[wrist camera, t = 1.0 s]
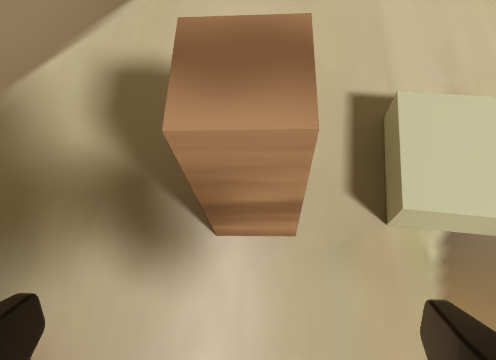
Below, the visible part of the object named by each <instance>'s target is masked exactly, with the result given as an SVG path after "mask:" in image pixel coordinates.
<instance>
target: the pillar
mask: <svg viewBox="0 0 496 360" xmlns="http://www.w3.org/2000/svg"><path fill="white" fill-rule="evenodd" d="M162 132H163V134H164V136H165V138H166V140H167V142H168V144H169V146H170V147H171V149H172V151H173V153H174V155H175V157H176V159H177V161H178V163H179V165H180V167H181V169H182V171H183V172H184V174H185V176H186V178H187V180H188V182H189V184H190V186H191V188H192V190H193V192H194V194H195V196H196V198H197V199H198V201H199V203H200V205H201V207H202V209H203V211H204V213H205V215H206V217H207V219H208V221H209V223H210V224H211V226H212V228H213V230H214V232H215V234H216V236H295V235H296V231H297V226H298V222H299V217H300V213H301V208H302V204H303V199H304V195H305V190H306V186H307V181H308V177H309V172H310V168H311V163H312V159H313V154H314V150H315V145H316V141H317V136H318V132H319V120H318V105H317V90H316V75H315V60H314V45H313V30H312V16H311V13H302V14H271V15H241V16H210V17H179V18H178V20H177V27H176V34H175V41H174V48H173V55H172V63H171V70H170V77H169V84H168V91H167V98H166V105H165V112H164V119H163V126H162Z"/></svg>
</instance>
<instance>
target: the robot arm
mask: <svg viewBox="0 0 496 360" xmlns="http://www.w3.org/2000/svg"><path fill="white" fill-rule="evenodd" d="M44 328H45V319H44V315H43V312H42V308H41V304H40V301H39V298H38V296H37V295H36V294H33V293H18V294H15V295H13V296H11V297H9V298H7V299H5V300H3V301H1V302H0V360H30V358H31V356H32V354H33V352H34V350H35V348H36V346H37V344H38V342H39V340H40V338H41V336H42V334H43V331H44ZM420 335H421V340H422V343H423V346H424V349H425V353H426V356H427V359H428V360H496V332H495V331H494V330H492V329H491V328H489V327H487V326H486V325H484V324H483V323H481V322H480V321H478V320H477V319H475V318H474V317H472V316H471V315H469V314H467V313H466V312H464V311H463V310H461V309H459V308H458V307H457V306H455V305H454V304H452V303H451V302H449V301H447V300H434V299H430V300H427V301H426V302H425V305H424V310H423V316H422V322H421V327H420Z"/></svg>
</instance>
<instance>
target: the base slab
mask: <svg viewBox="0 0 496 360" xmlns="http://www.w3.org/2000/svg"><path fill="white" fill-rule="evenodd" d="M384 133H385V169H386V205H387V225H393V226H403V227H413V228H423V229H432V230H442V231H452V232H462V233H471V234H482V235H492V236H496V97H484V96H468V95H453V94H437V93H421V92H406V91H397V93H396V95H395V97H394V99H393V101H392V103H391V105H390V107H389V109H388V111H387V113H386V115H385V117H384Z"/></svg>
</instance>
